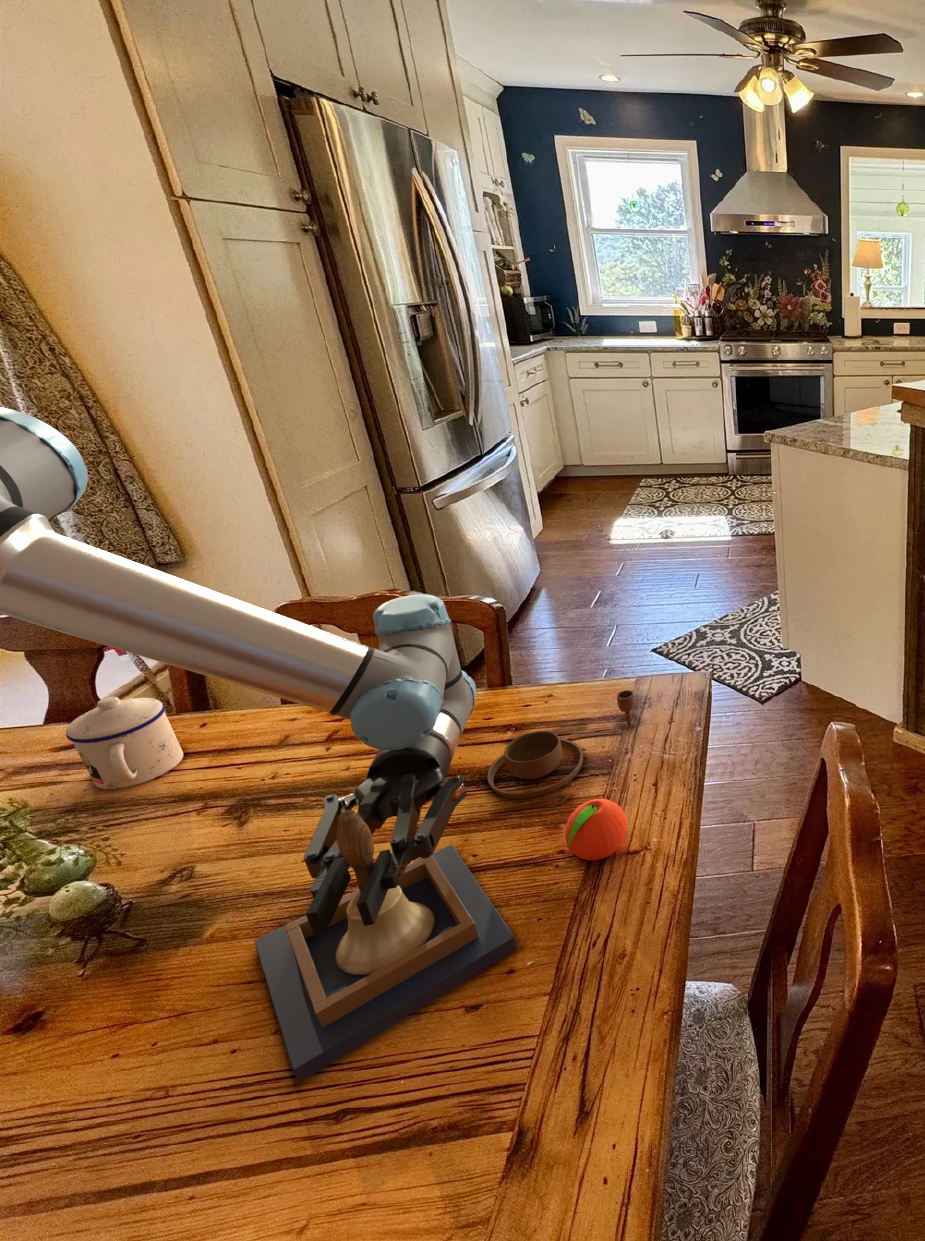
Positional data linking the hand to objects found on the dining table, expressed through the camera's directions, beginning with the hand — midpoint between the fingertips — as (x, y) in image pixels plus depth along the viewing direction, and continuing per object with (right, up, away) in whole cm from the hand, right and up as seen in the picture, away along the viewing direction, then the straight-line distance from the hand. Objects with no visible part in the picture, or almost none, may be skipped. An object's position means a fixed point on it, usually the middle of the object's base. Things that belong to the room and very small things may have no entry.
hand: (340, 918), depth 63 cm
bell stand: (-2, -8, +9) cm, 13 cm away
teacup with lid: (-52, +3, +32) cm, 61 cm away
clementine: (+14, -3, +22) cm, 27 cm away
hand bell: (-2, -6, +8) cm, 11 cm away
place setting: (+4, +3, +37) cm, 37 cm away
